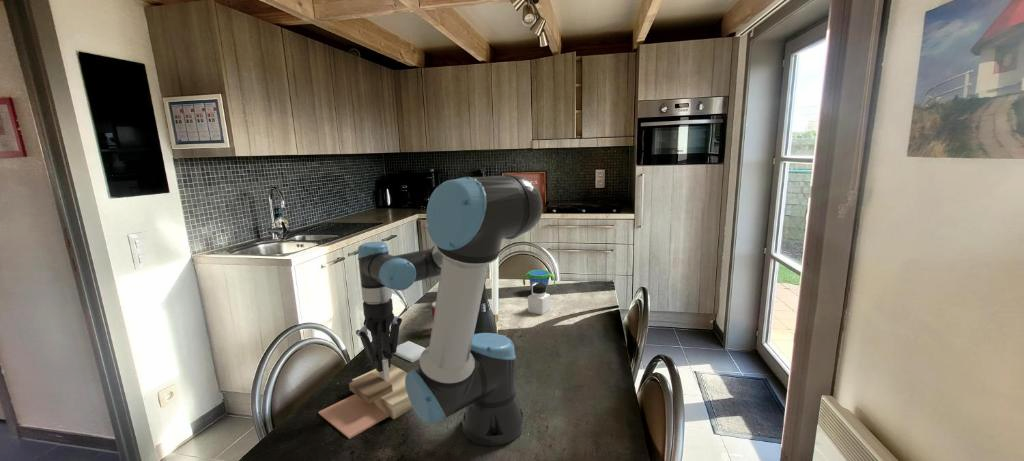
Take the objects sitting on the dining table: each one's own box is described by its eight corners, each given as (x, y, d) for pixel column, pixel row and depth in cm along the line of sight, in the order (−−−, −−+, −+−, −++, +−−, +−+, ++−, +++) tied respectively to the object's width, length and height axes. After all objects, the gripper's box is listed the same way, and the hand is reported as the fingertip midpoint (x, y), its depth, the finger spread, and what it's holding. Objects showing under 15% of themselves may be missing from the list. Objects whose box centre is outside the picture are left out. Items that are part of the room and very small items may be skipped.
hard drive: (389, 348, 142) (411, 359, 134) (409, 340, 148) (431, 349, 140) (390, 353, 142) (412, 364, 134) (409, 344, 148) (431, 354, 140)
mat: (389, 416, 106) (389, 414, 106) (349, 439, 98) (349, 437, 98) (357, 394, 116) (356, 393, 116) (318, 413, 108) (318, 411, 108)
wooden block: (392, 391, 110) (392, 384, 110) (369, 403, 105) (368, 396, 105) (372, 379, 117) (372, 372, 116) (349, 390, 112) (348, 383, 111)
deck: (430, 397, 114) (429, 384, 113) (393, 419, 105) (392, 405, 104) (389, 374, 127) (388, 362, 126) (353, 392, 118) (352, 379, 117)
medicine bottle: (550, 309, 176) (550, 282, 174) (542, 315, 170) (542, 287, 168) (536, 306, 180) (535, 280, 178) (527, 312, 174) (527, 285, 172)
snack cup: (557, 290, 201) (557, 270, 199) (552, 297, 191) (551, 276, 189) (527, 287, 206) (526, 268, 204) (520, 294, 196) (520, 274, 195)
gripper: (390, 290, 117) (397, 366, 121) (347, 303, 107) (356, 385, 111) (406, 295, 112) (412, 374, 116) (362, 310, 102) (370, 395, 107)
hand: (384, 380), depth 114 cm, fingers closed
